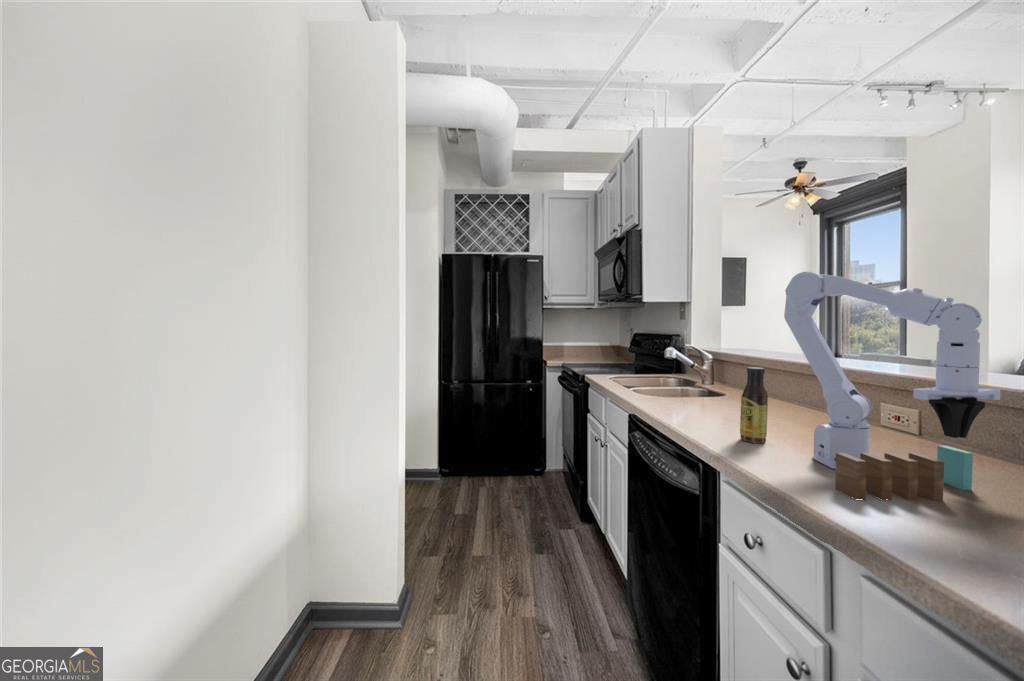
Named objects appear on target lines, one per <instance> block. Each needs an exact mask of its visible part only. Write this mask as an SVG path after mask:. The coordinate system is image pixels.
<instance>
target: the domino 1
mask: <svg viewBox="0 0 1024 681" xmlns="http://www.w3.org/2000/svg"><path fill="white" fill-rule="evenodd" d="M834 481H835V482H834V484H835V486H834V490H835V489H836V491H837V490H838V491H837V492H839V491H840V492H839V493H841V492H842V493H841V494H843V493H844V494H843V495H845V494H846V495H845V496H847V495H848V496H847V497H849V496H850V497H849V498H851V497H853V498H855V499H863V500H862V501H866V494H867V493H866V461H864V460H862V459H859V458H857V457H854V456H851V455H849V454H846V453H836V469H835V480H834ZM853 498H852V499H853ZM855 499H854V500H855Z"/></svg>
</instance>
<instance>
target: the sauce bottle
mask: <svg viewBox="0 0 1024 681" xmlns="http://www.w3.org/2000/svg"><path fill="white" fill-rule="evenodd" d="M765 371H766V370H765V368H764V367H759V366H758V367H756V366H748V367H747V368H746V373H747V375H746V376H747V377H746V378H747V379H746V380H747V381H746V385H745V387H744V390H743V392H742V393H741V396H740V416H739V417H740V419H739V421H740V422H739V425H740V426H739V434H740V440H741V441H743V442H746V443H750V444H764V443H766V441H767V439H766V438H767V435H768V434H767V433H768V432H767V431H768V415H769V414H768V412H769V410H768V408H769V407H768V406H769V404H768V400H769V398H768V396H769V394H768V392H767V390H766V389H765V387H764V383H765V382H764V375H765Z"/></svg>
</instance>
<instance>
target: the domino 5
mask: <svg viewBox="0 0 1024 681" xmlns="http://www.w3.org/2000/svg"><path fill="white" fill-rule="evenodd" d="M936 456H937V457H936V459H938V460H942V461H944V484H945V483H946V485H948V484H949V486H951V485H952V486H951V487H953V486H954V487H953V488H955V489H959V490H961V491H972V489H973V462H974V461H973V458H974V453H973V452H970V451H967V450H962V449H959V448H955V447H952V446H949V445H937V454H936Z"/></svg>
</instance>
